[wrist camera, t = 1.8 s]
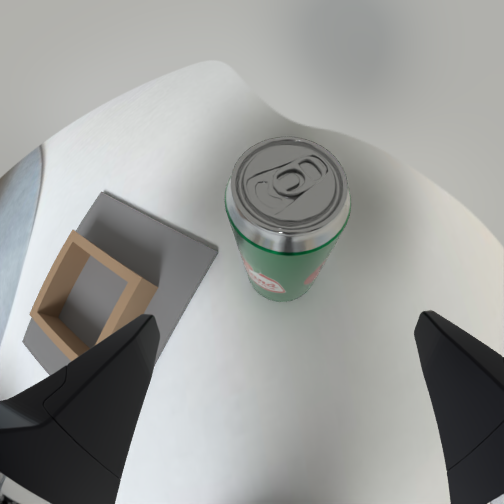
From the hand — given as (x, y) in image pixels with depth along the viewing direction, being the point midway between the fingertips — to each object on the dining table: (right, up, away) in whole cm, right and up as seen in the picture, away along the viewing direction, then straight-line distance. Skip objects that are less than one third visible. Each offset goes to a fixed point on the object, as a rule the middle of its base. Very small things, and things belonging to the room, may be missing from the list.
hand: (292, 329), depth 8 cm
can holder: (-14, -2, +13) cm, 19 cm away
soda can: (+1, +1, +13) cm, 13 cm away
